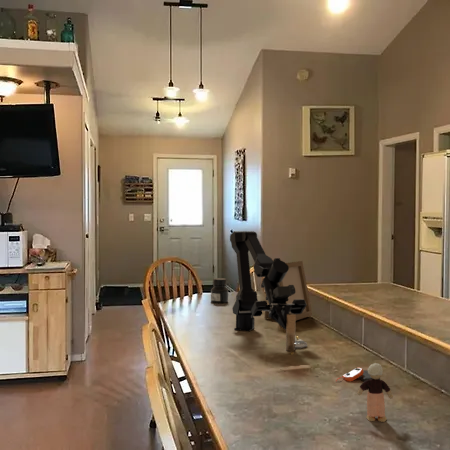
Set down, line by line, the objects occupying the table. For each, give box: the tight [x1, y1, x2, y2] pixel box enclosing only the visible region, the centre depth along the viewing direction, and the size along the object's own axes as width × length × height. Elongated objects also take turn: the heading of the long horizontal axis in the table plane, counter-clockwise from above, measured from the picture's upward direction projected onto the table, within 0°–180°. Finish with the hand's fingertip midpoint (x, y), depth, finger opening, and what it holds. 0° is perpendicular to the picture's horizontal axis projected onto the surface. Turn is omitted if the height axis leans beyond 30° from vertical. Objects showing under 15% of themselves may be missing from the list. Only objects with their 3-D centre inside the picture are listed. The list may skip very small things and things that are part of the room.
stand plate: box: [290, 335, 304, 355], centre depth 181 cm, size 20×15×2 cm
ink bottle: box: [210, 277, 229, 304], centre depth 272 cm, size 10×9×12 cm
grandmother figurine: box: [356, 362, 394, 423], centre depth 119 cm, size 8×4×13 cm, turn 92°
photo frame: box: [264, 260, 313, 321], centre depth 230 cm, size 15×22×25 cm
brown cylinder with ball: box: [285, 313, 308, 352], centre depth 178 cm, size 6×11×12 cm, turn 154°
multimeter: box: [335, 367, 381, 383], centre depth 147 cm, size 18×12×3 cm, turn 91°
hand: (286, 328), depth 175 cm, fingers closed
